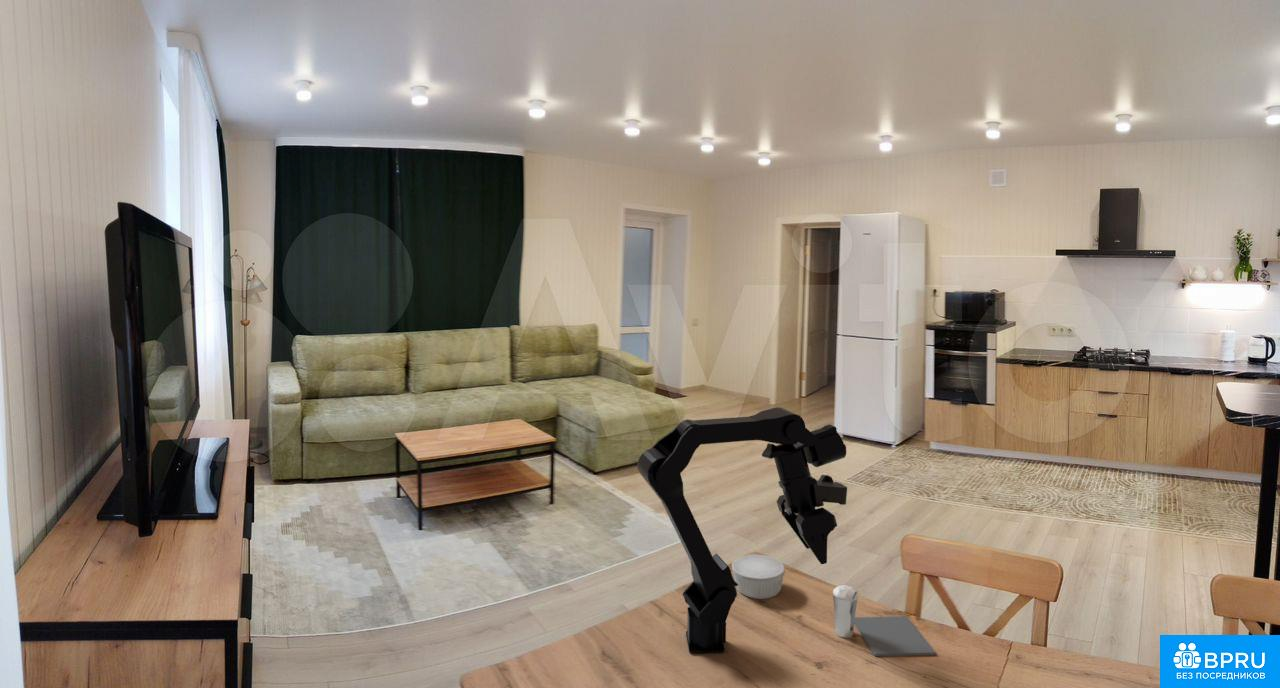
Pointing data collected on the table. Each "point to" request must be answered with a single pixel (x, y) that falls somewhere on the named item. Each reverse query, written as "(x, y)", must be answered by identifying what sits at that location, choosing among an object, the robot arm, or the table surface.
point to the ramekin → (758, 576)
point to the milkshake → (844, 610)
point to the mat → (892, 636)
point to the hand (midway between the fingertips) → (816, 555)
